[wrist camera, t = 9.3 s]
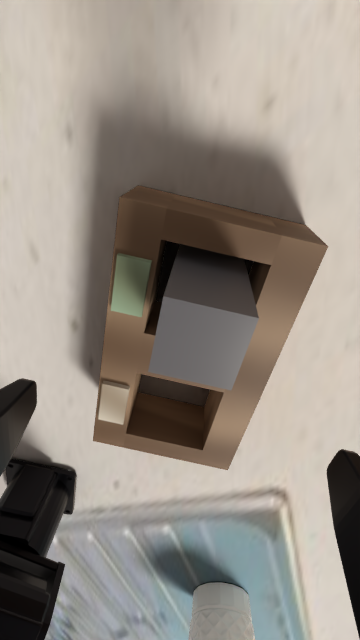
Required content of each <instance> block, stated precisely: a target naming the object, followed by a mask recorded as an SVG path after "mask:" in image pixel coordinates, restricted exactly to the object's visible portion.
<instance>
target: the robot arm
mask: <svg viewBox="0 0 360 640" xmlns="http://www.w3.org/2000/svg"><path fill="white" fill-rule="evenodd" d="M36 404H37V386H36V382H35V381H32V380H28V379H23V378H22V379H19V380H17V381H15V382H13V383H11V384H9V385H7V386H5V387H4V388H2V389H0V476H1V474H2V473H3V471H4V470H5V468H6V476H7V488H6V490H5V491H4V493H3V495H2V497H1V498H0V640H44V639H45V636H46V634H47V631H48V628H49V625H50V622H51V618H52V614H53V610H54V606H55V602H56V598H57V594H58V590H59V586H60V583H61V579H62V575H63V571H64V567H65V564H64V563H61V562H58V563H57V562H55V561H53V560H50V559H48V558H46V555H47V553H48V550H49V548H50V545H51V543H52V540H53V538H54V535H55V533H56V530H57V528H58V525H59V523H60V520H61V518H62V515H63V513H64V514H72V513H73V510H74V503H75V490H76V477H77V475H76V473H74V472H72V471H68V470H63V469H58V468H54V467H49V466H44V465H40V464H35V463H30V462H26V461H21V460H16V459H11V458H12V456H13V454H14V452H15V450H16V448H17V446H18V443H19V441H20V439H21V437H22V435H23V433H24V431H25V429H26V427H27V425H28V423H29V421H30V419H31V416H32V414H33V412H34V410H35V408H36ZM327 479H328V487H329V495H330V502H331V510H332V518H333V524H334V530H335V535H336V539H337V544H338V548H339V552H340V557H341V561H342V565H343V569H344V574H345V578H346V582H347V587H348V591H349V595H350V600H351V604H352V608H353V613H354V617H355V621H356V626H357V630H358V634H359V638H360V456H359V455H358V454H357V453H355V452H353V451H348V450H344V449H341V450H339V451H338V452H337V454H336V455H335V457H334V458H333V460H332V461H331V463H330V464H329V466H328V468H327Z"/></svg>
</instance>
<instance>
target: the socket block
mask: <svg viewBox="0 0 360 640" xmlns="http://www.w3.org/2000/svg"><path fill="white" fill-rule="evenodd" d="M167 241H170V242H174V243H179V244H183V245H187V246H192V247H196V248H200V249H204V250H209V251H213V252H217V253H222V254H226V255H230V256H234V257H239V258H243V259H247V260H252V261H253V264H252V267H251V270H250V273H249V280H250V284H251V288H252V292H253V296H254V300H255V304H256V308H257V312H258V316H259V320H258V322H257V325H256V328H255V330H254V333H253V335H252V338H251V341H250V343H249V346H248V348H247V351H246V354H245V356H244V359H243V361H242V364H241V367H240V369H239V372H238V375H237V377H236V380H235V382H234V385H233V388H232V390H227V389H222V388H218V387H213V386H209V385H204V384H200V383H195V382H191V381H186V380H182V379H178V378H173V377H169V376H164V375H160V374H155V373H151V372H148V370H149V365H150V360H151V355H152V350H153V345H154V340H155V335H156V330H157V325H158V320H159V316H160V311H161V306H162V302H159V301H156V296H157V291H158V286H159V280H160V275H161V270H162V265H163V259H164V254H165V249H166V244H167ZM327 248H328V246H327V245H326V244H325V243H324V242H323V241H322V240H321V239H320V238H319V237H318V236H317V235H316V234H315V233H314V232H313V231H311V230H310V229H309V228H308V227H307V226H306V225H303V224H299V223H295V222H290V221H286V220H282V219H278V218H273V217H269V216H265V215H261V214H257V213H252V212H248V211H244V210H240V209H235V208H231V207H227V206H223V205H219V204H214V203H210V202H206V201H202V200H198V199H193V198H189V197H185V196H181V195H176V194H172V193H168V192H164V191H160V190H155V189H151V188H147V187H143V186H136V187H135V188H133V189H132V190H130V191H128V192H127V193H125V194H124V195H122V196H121V197H119V206H118V216H117V225H116V234H115V243H114V252H113V261H112V271H111V280H110V289H109V298H108V307H107V316H106V326H105V335H104V344H103V353H102V362H101V371H100V381H99V390H98V399H97V408H96V417H95V426H94V436H93V441H96V442H101V443H105V444H110V445H115V446H119V447H124V448H128V449H133V450H138V451H142V452H147V453H151V454H156V455H161V456H165V457H170V458H174V459H179V460H184V461H188V462H193V463H197V464H202V465H206V466H211V467H216V468H220V469H225V470H228V468H229V466H230V464H231V462H232V460H233V457H234V455H235V453H236V451H237V448H238V446H239V444H240V442H241V439H242V437H243V435H244V433H245V431H246V428H247V426H248V424H249V422H250V419H251V417H252V415H253V413H254V410H255V408H256V406H257V404H258V402H259V399H260V397H261V395H262V393H263V390H264V388H265V386H266V384H267V382H268V379H269V377H270V375H271V373H272V370H273V368H274V366H275V364H276V361H277V359H278V357H279V355H280V353H281V350H282V348H283V346H284V344H285V341H286V339H287V337H288V335H289V333H290V330H291V328H292V326H293V324H294V321H295V319H296V317H297V315H298V312H299V310H300V308H301V306H302V304H303V301H304V299H305V297H306V295H307V292H308V290H309V288H310V286H311V284H312V281H313V279H314V277H315V275H316V272H317V270H318V268H319V266H320V263H321V261H322V259H323V257H324V255H325V252H326V250H327ZM141 374H143V375H147V376H152V377H156V378H161V379H165V380H170V381H174V382H179V383H183V384H188V385H192V386H197V387H201V388H206V389H210V391H209V394H208V397H207V400H206V403H205V406H204V407H203V406H198V405H194V404H189V403H185V402H180V401H176V400H171V399H166V398H162V397H157V396H153V395H148V394H144V393H139V392H138V390H139V385H140V380H141Z"/></svg>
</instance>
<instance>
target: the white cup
mask: <svg viewBox="0 0 360 640" xmlns="http://www.w3.org/2000/svg"><path fill="white" fill-rule="evenodd" d="M189 640H255V636H254V628H253V625H252V619H251V610H250V601H249V595H248V594H247V593H246V592H245V591H244V589H242V588H240V587H238V586H235V585H233V584H228V583H222V582H214V583H206V584H203V585H200V586H198V587H197V588H196V589H195V590H194V593H193V607H192V619H191V622H190V631H189Z"/></svg>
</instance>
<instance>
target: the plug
mask: <svg viewBox="0 0 360 640" xmlns="http://www.w3.org/2000/svg"><path fill="white" fill-rule="evenodd" d="M258 320H259V316H258V312H257V308H256V304H255V300H254V296H253V292H252V288H251V284H250V280H249V276H248V272H247V268H246V264H245V260H244V259H243V258H239V257H234V256H230V255H226V254H222V253H217V252H213V251H209V250H204V249H200V248H196V247H192V246H187V245H183V244H180V245H179V249H178V252H177V255H176V258H175V261H174V264H173V268H172V271H171V274H170V277H169V280H168V283H167V287H166V290H165V293H164V296H163V301H162V306H161V311H160V316H159V320H158V325H157V330H156V335H155V340H154V345H153V350H152V355H151V360H150V365H149V370H148V372H151V373H155V374H160V375H164V376H169V377H173V378H178V379H182V380H186V381H191V382H195V383H200V384H204V385H209V386H213V387H218V388H222V389H227V390H232V388H233V385H234V382H235V380H236V377H237V375H238V372H239V369H240V367H241V364H242V361H243V359H244V356H245V354H246V351H247V348H248V346H249V343H250V341H251V338H252V335H253V333H254V330H255V328H256V325H257V322H258Z"/></svg>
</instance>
